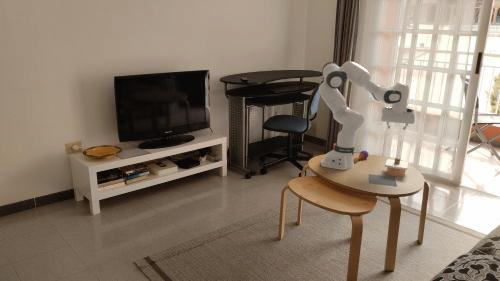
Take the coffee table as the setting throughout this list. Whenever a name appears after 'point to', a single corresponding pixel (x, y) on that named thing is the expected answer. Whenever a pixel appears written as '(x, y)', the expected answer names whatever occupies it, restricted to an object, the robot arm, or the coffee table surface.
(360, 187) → the coffee table surface
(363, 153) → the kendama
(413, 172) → the coffee table surface
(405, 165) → the lid
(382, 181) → the mat
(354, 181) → the coffee table surface
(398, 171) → the bowl
